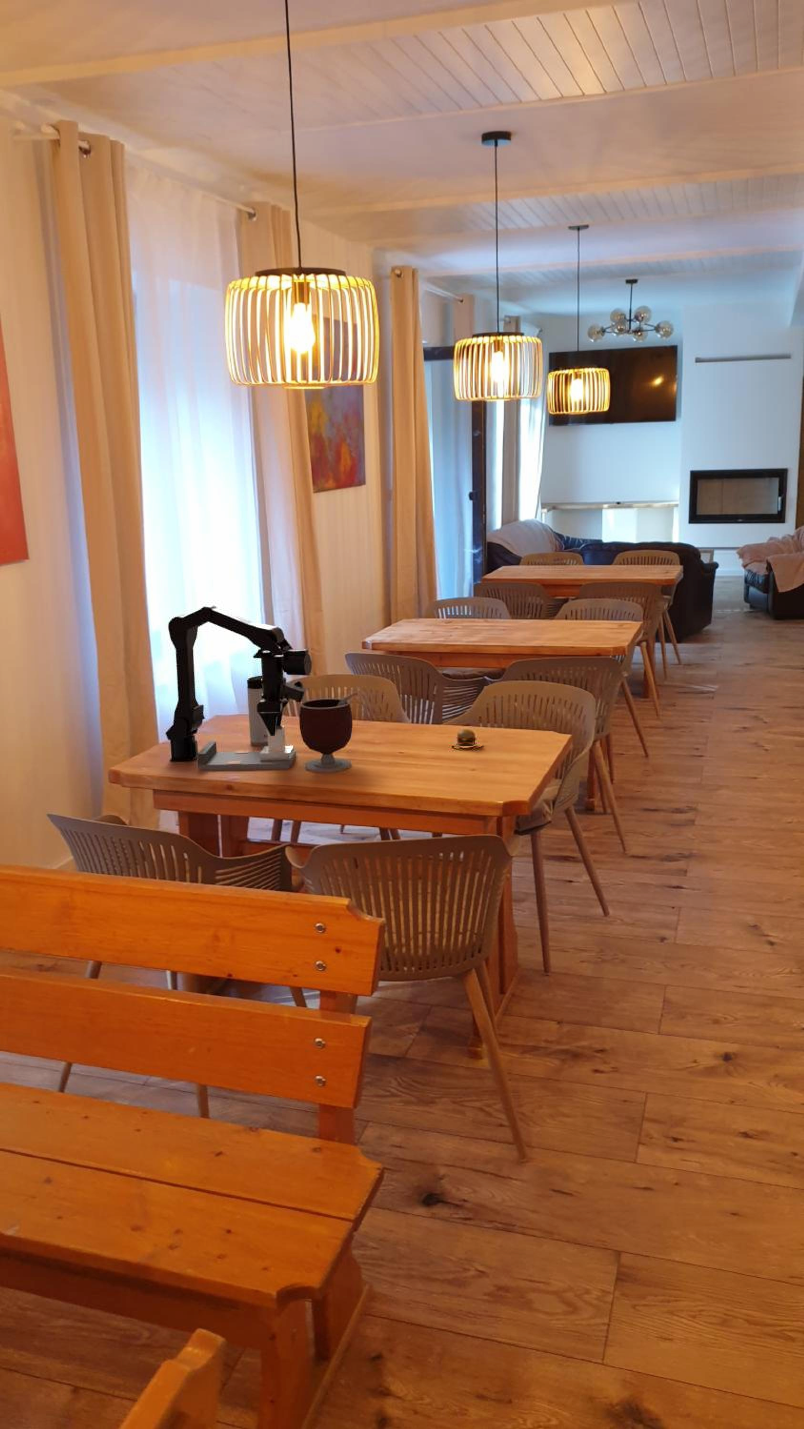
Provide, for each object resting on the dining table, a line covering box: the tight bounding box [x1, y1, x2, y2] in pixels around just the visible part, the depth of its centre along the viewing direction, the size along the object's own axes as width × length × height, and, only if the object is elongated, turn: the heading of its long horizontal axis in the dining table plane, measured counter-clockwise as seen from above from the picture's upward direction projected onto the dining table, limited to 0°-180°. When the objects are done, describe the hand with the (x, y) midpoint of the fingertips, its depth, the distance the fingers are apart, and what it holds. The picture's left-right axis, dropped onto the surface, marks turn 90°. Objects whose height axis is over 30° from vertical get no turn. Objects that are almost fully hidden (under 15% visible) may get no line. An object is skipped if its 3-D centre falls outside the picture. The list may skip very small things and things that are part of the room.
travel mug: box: [246, 675, 268, 747], centre depth 327 cm, size 6×7×20 cm
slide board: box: [197, 740, 297, 771], centre depth 307 cm, size 24×14×4 cm, turn 87°
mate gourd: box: [298, 691, 358, 773], centre depth 299 cm, size 16×14×20 cm
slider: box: [260, 725, 295, 761], centre depth 306 cm, size 8×8×8 cm
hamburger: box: [456, 729, 477, 746], centre depth 317 cm, size 12×12×6 cm
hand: (275, 731), depth 305 cm, fingers open, 9 cm apart
